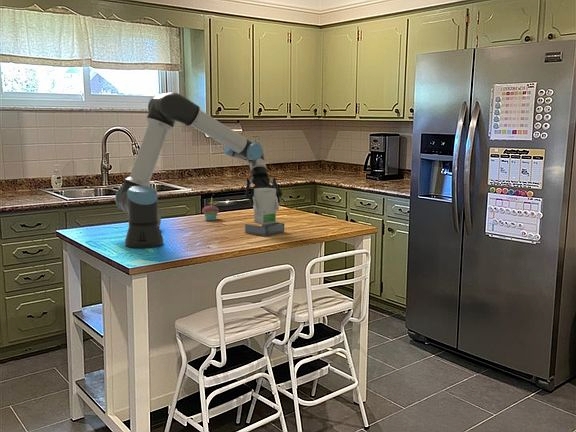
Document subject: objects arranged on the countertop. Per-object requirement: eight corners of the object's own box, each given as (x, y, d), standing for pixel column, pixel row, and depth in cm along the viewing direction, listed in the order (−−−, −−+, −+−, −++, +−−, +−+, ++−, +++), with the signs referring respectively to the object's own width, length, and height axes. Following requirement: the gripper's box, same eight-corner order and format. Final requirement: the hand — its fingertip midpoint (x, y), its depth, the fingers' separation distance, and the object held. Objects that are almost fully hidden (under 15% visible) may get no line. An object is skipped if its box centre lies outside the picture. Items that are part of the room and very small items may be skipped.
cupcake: (222, 220, 287) (221, 196, 285) (206, 221, 283) (206, 197, 281) (214, 217, 294) (213, 194, 292) (199, 219, 290) (198, 195, 287)
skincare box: (262, 224, 252) (262, 190, 250) (253, 222, 257) (252, 188, 254) (276, 222, 258) (276, 188, 255) (267, 220, 263) (267, 186, 260)
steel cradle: (266, 236, 250) (266, 227, 249) (245, 232, 257) (245, 224, 256) (284, 231, 259) (284, 223, 259) (263, 228, 267) (263, 220, 266)
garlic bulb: (154, 231, 259) (153, 210, 257) (138, 230, 261) (137, 208, 259) (165, 227, 267) (164, 206, 266) (149, 226, 270) (148, 205, 268)
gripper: (280, 175, 271) (289, 213, 259) (234, 176, 266) (241, 215, 254) (283, 164, 265) (292, 203, 253) (236, 166, 260) (243, 205, 248)
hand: (266, 209), depth 253 cm, fingers closed on skincare box, 10 cm apart
